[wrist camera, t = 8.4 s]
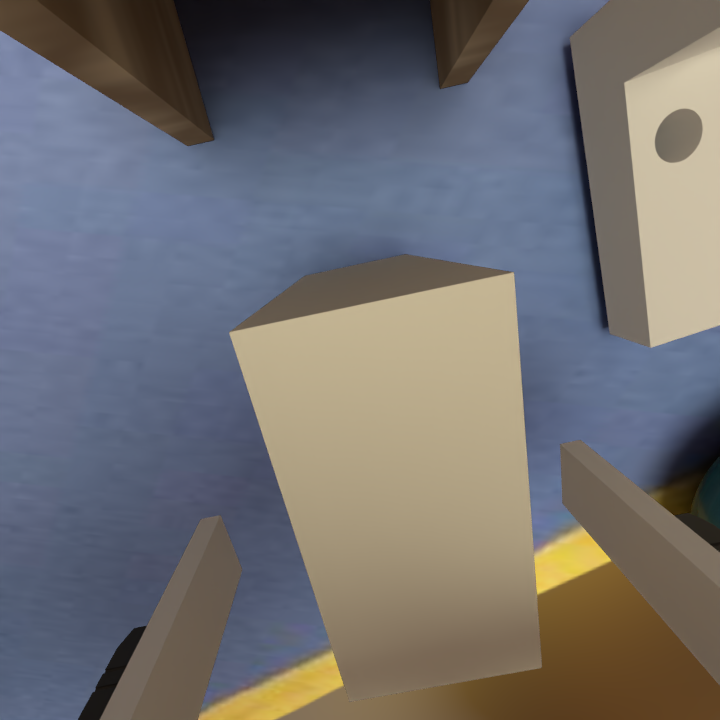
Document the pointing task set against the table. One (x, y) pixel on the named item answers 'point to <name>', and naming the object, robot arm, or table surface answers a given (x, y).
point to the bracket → (654, 162)
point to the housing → (172, 60)
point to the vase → (708, 496)
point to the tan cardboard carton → (403, 466)
